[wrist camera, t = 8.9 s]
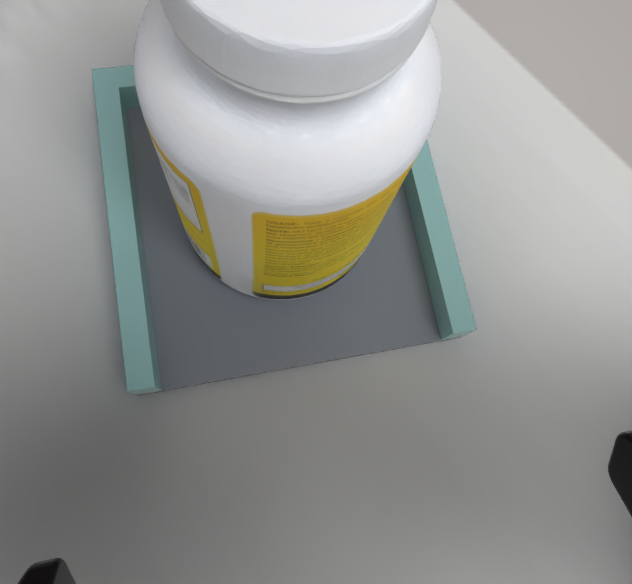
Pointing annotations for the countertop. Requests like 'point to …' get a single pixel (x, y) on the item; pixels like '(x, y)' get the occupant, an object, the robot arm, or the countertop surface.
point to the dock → (251, 312)
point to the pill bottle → (286, 128)
